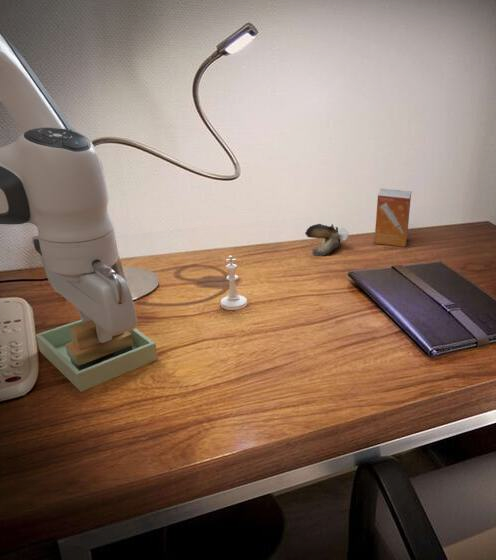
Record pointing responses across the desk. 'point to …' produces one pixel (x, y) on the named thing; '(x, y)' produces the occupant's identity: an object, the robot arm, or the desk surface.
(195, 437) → the desk surface
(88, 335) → the brush
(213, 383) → the desk surface
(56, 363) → the tray
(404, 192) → the small box
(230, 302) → the chess piece
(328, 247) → the grey brown curved piece
